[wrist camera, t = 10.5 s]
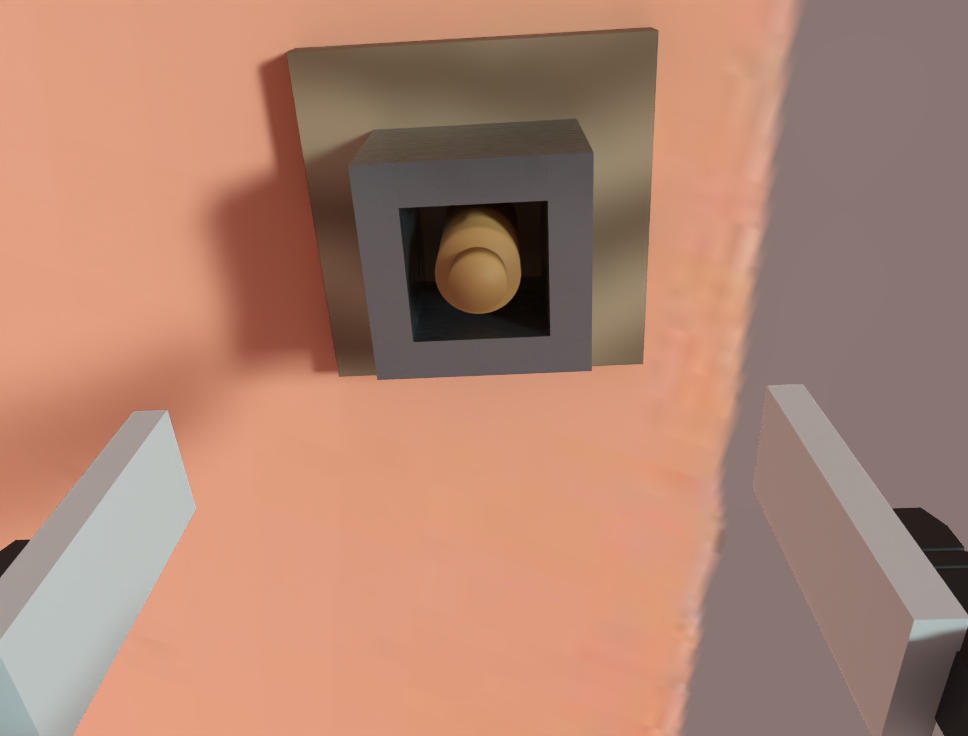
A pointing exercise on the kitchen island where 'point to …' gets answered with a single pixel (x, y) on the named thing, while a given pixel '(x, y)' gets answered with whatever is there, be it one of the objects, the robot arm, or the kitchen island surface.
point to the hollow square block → (463, 181)
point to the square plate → (495, 226)
